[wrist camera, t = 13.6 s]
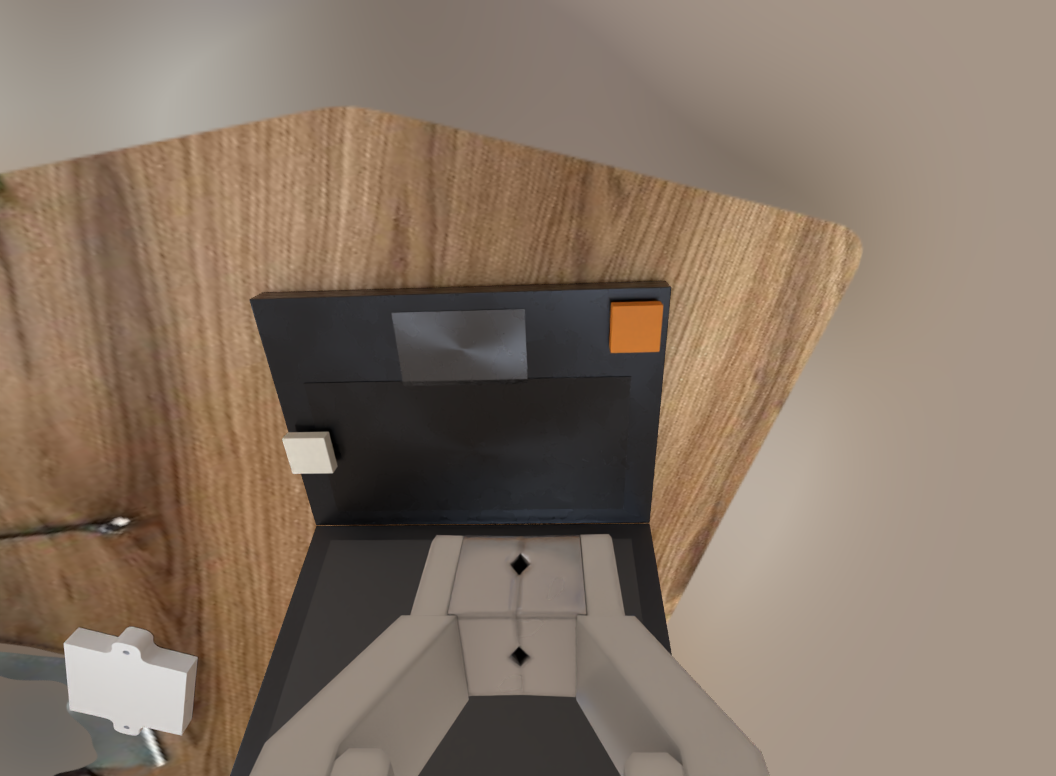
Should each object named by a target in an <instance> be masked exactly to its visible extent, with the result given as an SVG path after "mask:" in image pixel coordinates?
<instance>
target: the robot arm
mask: <svg viewBox="0 0 1056 776" xmlns="http://www.w3.org/2000/svg"><path fill="white" fill-rule="evenodd" d="M491 695H538V696H564V697H576V700H577V702H578V704H579V705H580V707H581V709H582V711H583V712H584V714H585V716H586V717H587V719H588V721H589V722H590V724H591V726H592V728H593V729H594V731H595V733H596V734H597V736H598V738H599V739H600V741H601V743H602V745H603V746H604V748H605V750H606V751H607V753H608V755H609V757H610V758H611V760H612V762H613V763H614V765H615V767H616V768H617V770H618V772H619V774H620V775H621V776H770V774H769V772H768V769H767V766H766V763H765V760H764V758H763V755H762V752H761V751H760V750H759V749H758V748H757V747H756V745H755V744H754V743H753V742H752V741H751V740H750V739H749V738H748V737H747V736H746V735H745V734H744V733H743V731H742V730H741V729H740V728H739V727H738V726H737V725H736V724H735V723H734V722H733V721H732V720H731V719H730V718H729V717H728V716H727V714H726V713H725V712H724V711H723V710H722V709H721V708H720V707H719V706H718V705H717V704H716V703H715V702H714V700H713V699H712V698H711V697H710V696H709V695H708V694H707V693H706V692H705V691H704V690H703V689H702V688H701V686H700V685H699V684H698V683H697V682H696V681H695V680H694V679H693V678H692V677H691V676H690V675H689V674H688V673H687V672H686V670H685V669H684V668H683V667H682V666H681V665H680V664H679V663H678V662H677V661H676V660H675V659H674V658H673V656H672V655H671V654H670V653H669V652H668V651H667V650H666V649H665V648H664V647H663V646H662V645H661V644H660V643H659V641H658V640H657V639H656V638H655V637H654V636H653V635H652V634H651V633H650V632H649V631H648V630H647V629H646V628H645V626H644V625H643V624H642V623H641V622H640V621H639V620H638V619H637V618H636V617H635V616H625V613H624V607H623V601H622V595H621V589H620V584H619V578H618V572H617V566H616V560H615V554H614V549H613V543H612V538H611V537H610V535H609V534H591V535H580V536H579V535H550V536H488V535H465V536H452V535H436V537H435V538H434V540H433V541H432V543H431V546H430V550H429V553H428V557H427V560H426V563H425V567H424V570H423V574H422V577H421V580H420V584H419V587H418V591H417V594H416V597H415V601H414V604H413V608H412V611H411V615H401V616H400V617H399V618H398V619H397V620H396V621H395V622H394V623H392V624H391V625H390V626H389V627H388V628H387V629H386V630H385V631H384V632H383V633H382V634H381V635H380V636H379V637H378V638H376V639H375V640H374V641H373V642H372V643H371V644H370V645H369V646H368V647H367V648H366V649H365V650H364V651H363V652H361V653H360V654H359V655H358V656H357V657H356V658H355V659H354V660H353V661H352V662H351V663H350V664H349V665H348V666H347V667H345V668H344V669H343V670H342V671H341V672H340V673H339V674H338V675H337V676H336V677H335V678H334V679H333V680H332V681H331V682H329V683H328V684H327V685H326V686H325V687H324V688H323V689H322V690H321V691H320V692H319V693H318V694H317V695H316V696H314V697H313V698H312V699H311V700H310V701H309V702H308V703H307V704H306V705H305V706H304V707H303V708H302V709H301V710H300V711H298V712H297V713H296V714H295V715H294V716H293V717H292V718H291V719H290V720H289V721H288V722H287V723H286V724H285V725H284V726H282V727H281V728H280V729H279V730H278V731H277V732H276V733H275V734H274V735H273V736H272V737H271V738H270V739H269V740H268V741H266V742H265V744H264V746H263V748H262V750H261V752H260V754H259V756H258V758H257V761H256V763H255V765H254V767H253V769H252V771H251V773H250V775H249V776H418V775H419V773H420V772H421V770H422V769H423V767H424V766H425V764H426V763H427V761H428V760H429V758H430V757H431V755H432V754H433V752H434V751H435V749H436V748H437V746H438V745H439V743H440V742H441V741H442V739H443V738H444V736H445V735H446V733H447V732H448V730H449V729H450V727H451V726H452V724H453V723H454V721H455V720H456V718H457V717H458V715H459V714H460V712H461V711H462V709H463V708H464V706H465V705H466V703H467V702H468V700H469V698H468V696H491Z"/></svg>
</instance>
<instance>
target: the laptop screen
mask: <svg viewBox="0 0 1056 776" xmlns="http://www.w3.org/2000/svg"><path fill="white" fill-rule="evenodd" d="M591 534H609V535H610V537H611V538H612V543H613V549H614V554H615V560H616V566H617V572H618V578H619V584H620V589H621V595H622V601H623V607H624V613H625V616H635V617H636V618H637V619H638V620H639V621H640V622H641V623H642V624H643V625H644V626H645V628H646V629H647V630H648V631H649V632H650V633H651V634H652V635H653V636H654V637H655V638H656V639H657V640H658V641H659V643H660V644H661V645H662V646H663V647H664V648H665V649H666V650H667V651H668V652H669V653H670V654H671V648H670V642H669V636H668V630H667V624H666V618H665V612H664V606H663V601H662V595H661V589H660V583H659V577H658V571H657V565H656V559H655V553H654V547H653V542H652V536H651V530H650V524H537V525H394V526H316V529H315V532H314V535H313V538H312V541H311V543H310V546H309V549H308V552H307V555H306V558H305V561H304V564H303V567H302V569H301V572H300V575H299V578H298V581H297V584H296V587H295V590H294V593H293V595H292V598H291V601H290V604H289V607H288V610H287V613H286V616H285V618H284V621H283V624H282V627H281V630H280V633H279V636H278V639H277V642H276V644H275V647H274V650H273V653H272V656H271V659H270V662H269V665H268V668H267V670H266V673H265V676H264V679H263V682H262V685H261V688H260V691H259V694H258V696H257V699H256V702H255V705H254V708H253V711H252V714H251V717H250V720H249V722H248V725H247V728H246V731H245V734H244V737H243V740H242V743H241V746H240V748H239V751H238V754H237V757H236V760H235V763H234V766H233V769H232V772H231V774H230V776H249V775H250V773H251V771H252V769H253V767H254V765H255V763H256V761H257V758H258V756H259V754H260V752H261V750H262V748H263V746H264V744H265V742H266V741H268V740H269V739H270V738H271V737H272V736H273V735H274V734H275V733H276V732H277V731H278V730H279V729H280V728H281V727H282V726H284V725H285V724H286V723H287V722H288V721H289V720H290V719H291V718H292V717H293V716H294V715H295V714H296V713H297V712H298V711H300V710H301V709H302V708H303V707H304V706H305V705H306V704H307V703H308V702H309V701H310V700H311V699H312V698H313V697H314V696H316V695H317V694H318V693H319V692H320V691H321V690H322V689H323V688H324V687H325V686H326V685H327V684H328V683H329V682H331V681H332V680H333V679H334V678H335V677H336V676H337V675H338V674H339V673H340V672H341V671H342V670H343V669H344V668H345V667H347V666H348V665H349V664H350V663H351V662H352V661H353V660H354V659H355V658H356V657H357V656H358V655H359V654H360V653H361V652H363V651H364V650H365V649H366V648H367V647H368V646H369V645H370V644H371V643H372V642H373V641H374V640H375V639H376V638H378V637H379V636H380V635H381V634H382V633H383V632H384V631H385V630H386V629H387V628H388V627H389V626H390V625H391V624H392V623H394V622H395V621H396V620H397V619H398V618H399V617H400V616H401V615H411V611H412V608H413V604H414V601H415V597H416V594H417V591H418V587H419V584H420V580H421V577H422V574H423V570H424V567H425V563H426V560H427V557H428V553H429V550H430V546H431V543H432V541H433V540H434V538H435V537H436V535H452V536H465V535H488V536H550V535H579V536H580V535H591ZM671 655H672V654H671ZM468 698H469V700H468V702H467V703H466V705H465V706H464V708H463V709H462V711H461V712H460V714H459V715H458V717H457V718H456V720H455V721H454V723H453V724H452V726H451V727H450V729H449V730H448V732H447V733H446V735H445V736H444V738H443V739H442V741H441V742H440V743H439V745H438V746H437V748H436V749H435V751H434V752H433V754H432V755H431V757H430V758H429V760H428V761H427V763H426V764H425V766H424V767H423V769H422V770H421V772H420V773H419V775H418V776H621V775H620V774H619V772H618V770H617V768H616V767H615V765H614V763H613V762H612V760H611V758H610V757H609V755H608V753H607V751H606V750H605V748H604V746H603V745H602V743H601V741H600V739H599V738H598V736H597V734H596V733H595V731H594V729H593V728H592V726H591V724H590V722H589V721H588V719H587V717H586V716H585V714H584V712H583V711H582V709H581V707H580V705H579V704H578V702H577V700H576V697H564V696H538V695H491V696H468Z"/></svg>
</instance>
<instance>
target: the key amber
mask: <svg viewBox="0 0 1056 776" xmlns="http://www.w3.org/2000/svg"><path fill="white" fill-rule="evenodd" d="M662 316H663V304H662V303H661V301H645V302H612V303H611V313H610V340H609V349H610V352H611V353H634V352H659V351H660V339H661V328H662Z"/></svg>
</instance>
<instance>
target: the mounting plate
mask: <svg viewBox="0 0 1056 776" xmlns="http://www.w3.org/2000/svg"><path fill="white" fill-rule="evenodd" d="M64 650H65V661H66V672H67V682H68V692H69V704H70V710H73V711H77V712H82V713H86V714H90V715H95V716H99V717H103V718H107V719H109V720H111V721H112V722H113V723H114V728H115V730H117V731H118V732H121V733H124V734H129V735H138V734H139V733H140V732H141V730H142V729H143V727H146V728H151V729H156V730H160V731H164V732H169V733H173V734H177V735H182V734H183V732H184V731H185V729H186V728H187V726H188V724H189V723H190V721H191V720H192V712H193V702H194V691H195V681H196V671H197V661H198V657H196V656H192V655H188V654H184V653H180V652H176V651H172V650H168V649H164V648H160V647H158V646H157V645H155V644H154V642H153V635H152V634H151V633H150V632H149V631H147V630H144V629H140V628H136V627H128V628H126V629H125V631H124V632H123V633H122V634H121V635H120V636H119V637H116V636H112V635H108V634H104V633H100V632H96V631H92V630H88V629H84V628H80V627H79V628H78V629H77V630H76V631H75V632H74V633H73V634H72V635H71V636H70V637H69V638H68V639H67V640H66V641H65V642H64Z"/></svg>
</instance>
